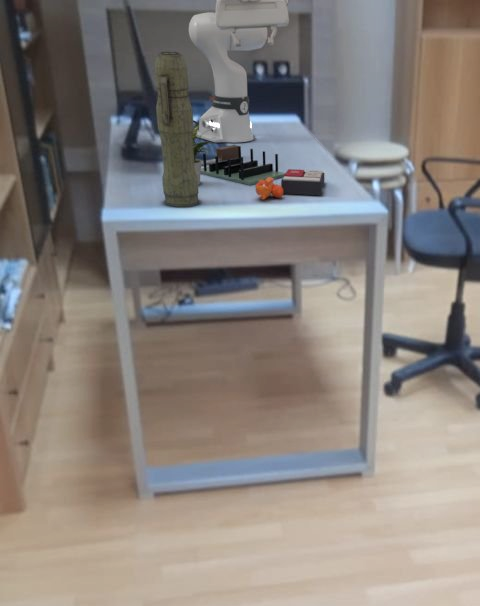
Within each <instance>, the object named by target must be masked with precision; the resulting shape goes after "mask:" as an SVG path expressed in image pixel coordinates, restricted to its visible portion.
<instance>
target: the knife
mask: <svg viewBox="0 0 480 606" xmlns="http://www.w3.org/2000/svg"><path fill="white" fill-rule="evenodd" d="M238 146H239V145H236V144H231V145H226V146H221V147H217V148H216V156H218V162H219V161H224V160H228V159H233V158H238V157H239V155H238ZM201 161H202V162H201V167H202V166H203V167H204V163H203V160H201ZM214 162H215V158H212V159H208V160H207V159H206V166H207V165H209V164H210V163H214Z"/></svg>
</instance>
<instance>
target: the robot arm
mask: <svg viewBox="0 0 480 606" xmlns="http://www.w3.org/2000/svg"><path fill="white" fill-rule="evenodd" d="M215 1H216V2H215V12H212V11H211V12H210V11H209V12H208V11H207V12H202V13H196V14H194V15H193V16H192V17H191V19H190V21H189V24H188V35H189V38H190V41H191V43H192V44H193V45H194V46H195V47H196V48H197V49H198V50H199V51H200V52H202V54H203V55H204V56H205V57H206V59H207V60H208V63H209V64H210V67H211V71H212V75H213V76H212V77H213V84H214V95H213V96H209V101H210V102H211V101H212V102H211V107H210V108H208V110H207V111H205V112H204V113H203V114H202V115H201V116H200V117H199V120H198V121H196V120H194V119H193V124H194V125H195V127H198V126H199V128H198V130H197V135H198V136H197V135H196V136H197V137H200V136H201V134H203V133H204V132H205V133H204V135H202V136H201V138H200V139H201V140H205V141H207V142H213V143H246V142H247V143H248V142H252V141H254V139H255V138H254V134H253V131H252V127H253V126H252V125H253V124H252V122H251V117H250V112H249V110H250V97H249V95H248V74H247V71H246V69H245V68H244V67H243V66H242V65H241V64H239V63H237V62H236V61H234V60H232V59H230V57H229V55H228V52H230V51H246V52H247V51H255V50H259V49H262V48H263V47H264V46H265V44H266V42H267V45H268V46H275V40H274V39H275V37H276V35H277V32H278V28H280V27H288V25H289V24H290V17H289V16H290V15H289V10H288V5H289V3H290V0H215ZM268 28H270V30H271V34H270V36H268ZM206 131H207V132H206ZM197 137H196V138H197Z"/></svg>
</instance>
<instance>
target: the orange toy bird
mask: <svg viewBox="0 0 480 606" xmlns="http://www.w3.org/2000/svg"><path fill="white" fill-rule="evenodd" d="M274 180H275V179H274V178H271V177H268V178H267V179H266V180H259V181H258V183H257V184H255V186H254V187H255V193H256V194H257V195H258V196H259V199H260V200H263V201H265V199H266V198H268V197H269V196H270V195H272V196H273V197H274V198H275V199H280V198H282V197H283V195H284V194H283V188H282V187H281V184H280V185H279V184H275V183H274Z"/></svg>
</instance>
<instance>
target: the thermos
mask: <svg viewBox="0 0 480 606" xmlns="http://www.w3.org/2000/svg"><path fill="white" fill-rule="evenodd" d="M154 71H155V72H154V73H155V74H154V75H155V84H156V89H157V97H156V98H157V101H156V106H155V111H156V122H157V132H158V133H159V135H160V145H161V156H162V157H161V158H162V169H163V173H162V176H161V177H162V179H161V181H162V189H163V190H162V191H163V194H164V204H165V205H167V206H169V207H174V208H188V207H194V206H197V205H198V204H199V202H200V201H199V185H198V179H197V174H196V172H195V165H194V151H193V147H194V146H193V137H192V135H193V132H194V128H195V126H194V125H195V123H193V120H194V111H193V106H192V104H191V101H190V95H189V77H188V67H187V63H186V60H185V57H184V55H183V54H182V53H180V52H179V51H178V52H177V51H160V52H159V53H157V54H156V58H155V63H154Z"/></svg>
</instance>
